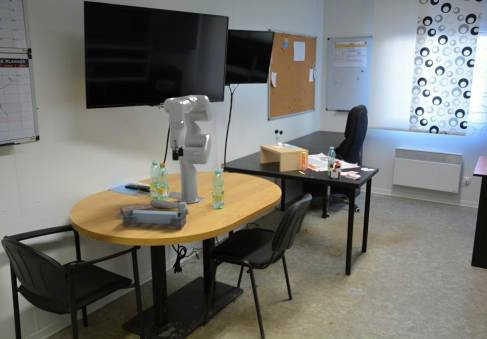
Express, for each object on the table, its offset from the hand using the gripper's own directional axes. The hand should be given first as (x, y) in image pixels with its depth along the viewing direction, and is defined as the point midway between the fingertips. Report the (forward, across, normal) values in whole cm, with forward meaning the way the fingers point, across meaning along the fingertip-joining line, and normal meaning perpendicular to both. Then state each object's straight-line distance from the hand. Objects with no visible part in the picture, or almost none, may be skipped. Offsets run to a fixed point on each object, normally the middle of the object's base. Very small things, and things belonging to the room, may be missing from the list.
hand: (178, 158), depth 221 cm
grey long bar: (+31, -4, -7) cm, 32 cm away
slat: (+28, +18, -8) cm, 35 cm away
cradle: (+30, +18, -8) cm, 36 cm away
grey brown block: (+31, +4, -23) cm, 39 cm away
